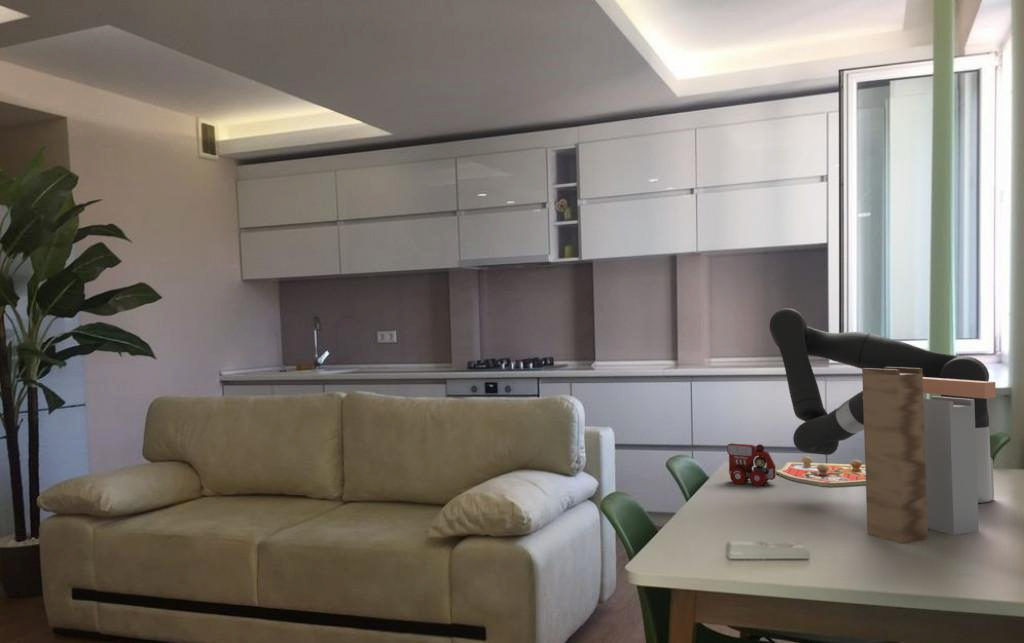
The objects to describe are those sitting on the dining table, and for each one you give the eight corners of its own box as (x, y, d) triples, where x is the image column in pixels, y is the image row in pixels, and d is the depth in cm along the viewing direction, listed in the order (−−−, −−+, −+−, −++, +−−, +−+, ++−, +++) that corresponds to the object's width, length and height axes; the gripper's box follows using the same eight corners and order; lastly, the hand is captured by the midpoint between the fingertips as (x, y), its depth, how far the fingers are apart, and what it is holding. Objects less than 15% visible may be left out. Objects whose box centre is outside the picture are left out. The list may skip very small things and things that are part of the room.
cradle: (938, 520, 162) (934, 396, 163) (978, 530, 154) (974, 399, 154) (914, 524, 160) (910, 398, 160) (953, 535, 151) (949, 401, 152)
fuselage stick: (898, 389, 168) (898, 375, 168) (995, 397, 148) (995, 382, 148) (888, 389, 167) (888, 376, 167) (984, 398, 147) (984, 382, 147)
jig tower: (893, 529, 157) (887, 366, 157) (927, 538, 149) (922, 368, 150) (867, 533, 154) (862, 368, 154) (901, 543, 147) (895, 370, 147)
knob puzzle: (888, 471, 219) (888, 455, 219) (893, 492, 192) (892, 474, 192) (780, 466, 231) (780, 451, 231) (770, 486, 204) (769, 469, 204)
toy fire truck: (771, 487, 200) (770, 447, 200) (724, 483, 207) (723, 444, 207) (778, 482, 206) (777, 443, 206) (732, 478, 213) (730, 440, 213)
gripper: (831, 398, 175) (885, 362, 161) (877, 394, 180) (933, 360, 167) (845, 429, 172) (901, 395, 158) (891, 424, 177) (949, 391, 163)
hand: (917, 377), depth 162 cm, fingers closed on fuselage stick, 3 cm apart
